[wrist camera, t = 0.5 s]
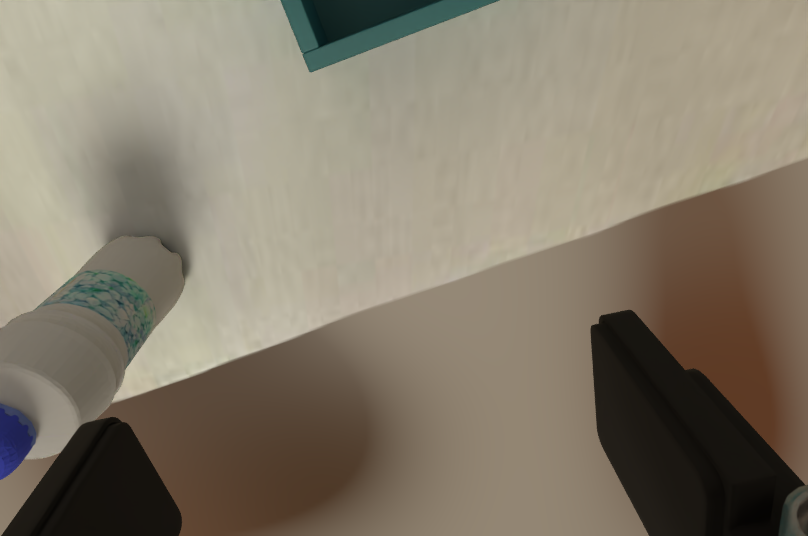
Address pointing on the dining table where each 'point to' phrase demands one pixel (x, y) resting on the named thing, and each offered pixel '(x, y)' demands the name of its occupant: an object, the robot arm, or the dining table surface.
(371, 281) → the dining table surface
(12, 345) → the bottle
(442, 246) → the dining table surface
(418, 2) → the teal hollow box
